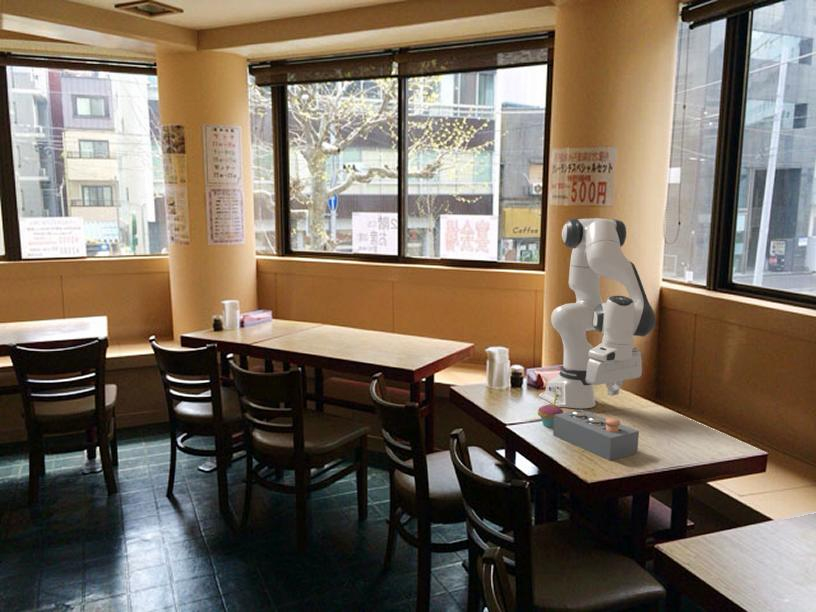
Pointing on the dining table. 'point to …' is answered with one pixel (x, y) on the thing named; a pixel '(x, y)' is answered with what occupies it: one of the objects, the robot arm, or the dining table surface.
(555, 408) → the cupcake
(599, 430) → the slate block
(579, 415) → the steel plug
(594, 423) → the steel plug
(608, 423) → the terracotta plug
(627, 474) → the dining table surface
